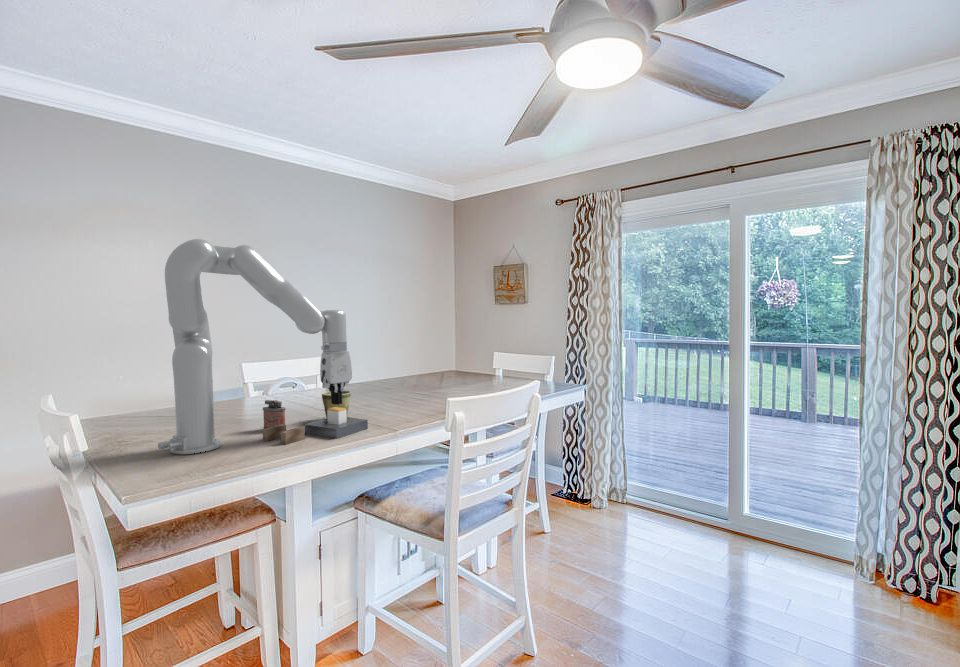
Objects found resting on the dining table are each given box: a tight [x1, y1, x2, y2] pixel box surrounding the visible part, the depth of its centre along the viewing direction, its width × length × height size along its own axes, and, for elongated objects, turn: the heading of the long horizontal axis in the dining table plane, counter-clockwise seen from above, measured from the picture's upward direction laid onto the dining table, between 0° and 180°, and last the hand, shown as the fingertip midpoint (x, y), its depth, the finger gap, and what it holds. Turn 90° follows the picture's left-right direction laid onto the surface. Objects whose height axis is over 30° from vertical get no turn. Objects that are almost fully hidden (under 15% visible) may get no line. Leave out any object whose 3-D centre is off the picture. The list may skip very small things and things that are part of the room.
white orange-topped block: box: [327, 407, 348, 425], centre depth 158 cm, size 4×5×7 cm
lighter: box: [262, 399, 286, 430], centre depth 160 cm, size 8×3×10 cm, turn 74°
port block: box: [303, 416, 369, 440], centre depth 157 cm, size 14×14×3 cm
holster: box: [262, 424, 305, 445], centre depth 148 cm, size 7×10×4 cm
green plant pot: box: [321, 390, 352, 419], centre depth 174 cm, size 13×10×10 cm
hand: (336, 403), depth 157 cm, fingers closed
